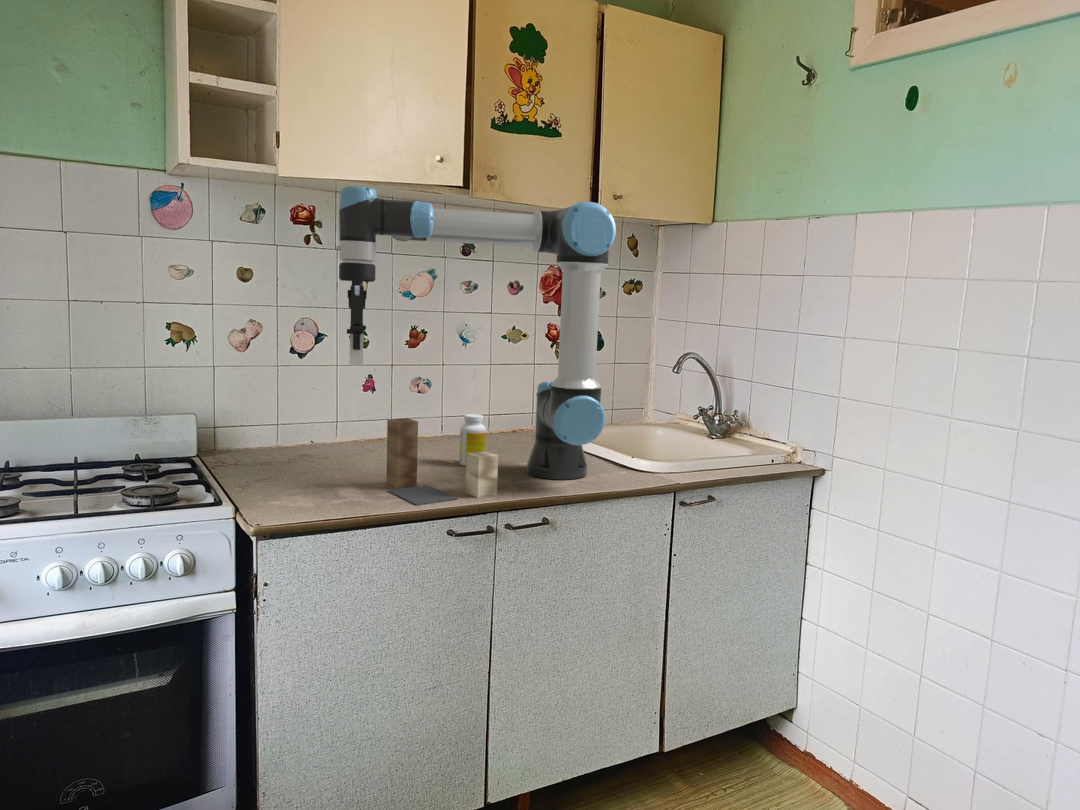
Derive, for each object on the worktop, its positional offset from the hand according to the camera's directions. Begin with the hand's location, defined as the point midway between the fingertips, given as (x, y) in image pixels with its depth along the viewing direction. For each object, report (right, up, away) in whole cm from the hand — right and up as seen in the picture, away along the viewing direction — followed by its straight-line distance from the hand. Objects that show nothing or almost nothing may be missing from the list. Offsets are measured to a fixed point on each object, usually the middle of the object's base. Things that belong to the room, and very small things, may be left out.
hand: (356, 362), depth 170 cm
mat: (+14, -29, +1) cm, 32 cm away
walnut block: (+8, -27, +9) cm, 30 cm away
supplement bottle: (+22, -25, +33) cm, 47 cm away
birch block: (+27, -29, +5) cm, 39 cm away
